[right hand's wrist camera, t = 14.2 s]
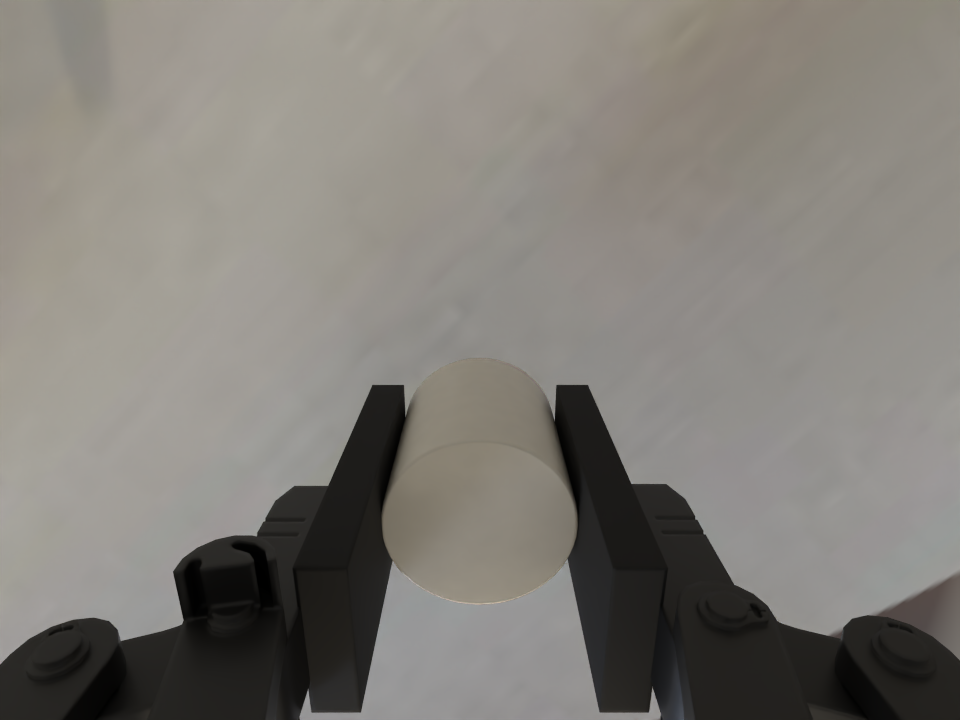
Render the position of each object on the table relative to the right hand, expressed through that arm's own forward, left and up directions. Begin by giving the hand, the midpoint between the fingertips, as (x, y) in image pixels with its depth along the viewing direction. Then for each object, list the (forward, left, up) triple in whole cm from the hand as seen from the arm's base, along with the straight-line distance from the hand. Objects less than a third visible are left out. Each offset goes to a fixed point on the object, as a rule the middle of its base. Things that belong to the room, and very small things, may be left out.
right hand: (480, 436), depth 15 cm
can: (0, 0, 0) cm, 0 cm away
